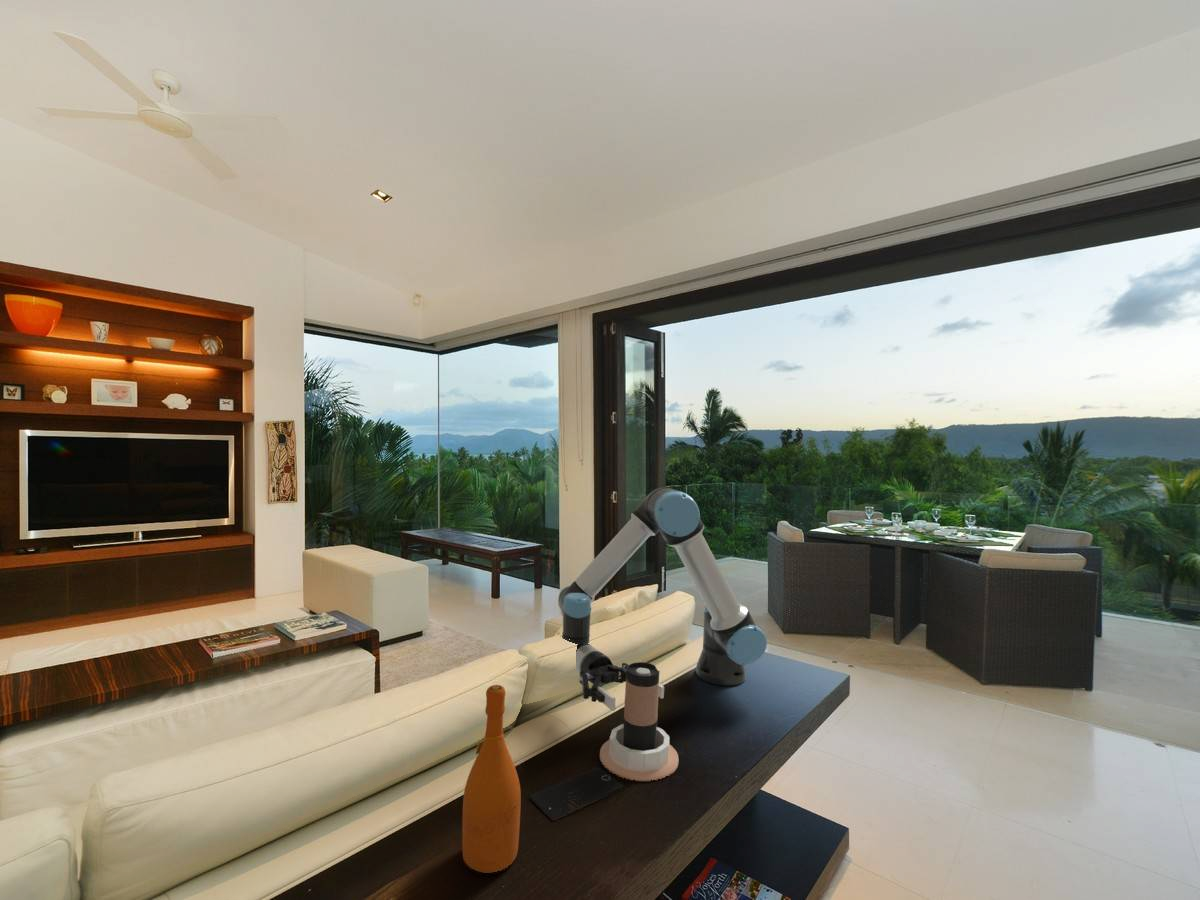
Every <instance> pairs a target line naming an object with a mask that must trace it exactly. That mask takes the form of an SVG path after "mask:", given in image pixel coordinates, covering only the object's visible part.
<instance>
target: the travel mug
mask: <svg viewBox="0 0 1200 900" xmlns="http://www.w3.org/2000/svg"><path fill="white" fill-rule="evenodd" d="M660 672H661V671H660V670H658V668H657V667H656V665H654V664H652V663H649V662H645V661H644V662H642V661H641V662H638V661H637V662H633V663H629V664H628V667H627V672H626V682H625V692H624V707H623V708H624V709H623V724H624V740H623V746H625V747H627V748H629V749H633V750H640V751H647V750H653V749H655V741H656V729H657V727H658V711H659V697H658V692H659V684H660Z"/></svg>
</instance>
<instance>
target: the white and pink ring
mask: <svg viewBox="0 0 1200 900" xmlns="http://www.w3.org/2000/svg"><path fill="white" fill-rule="evenodd" d="M623 740H624V723H621V724H620V725H618V726H616V727H614V728H613V729H611V733H610V736H609V739H608V740H607V741H605V742H604V743H603V744H602V745H601V747H600V750H599V760H600V762H602V763H601V765H602V766H603V765H604V766H603V767H604V768H605V769H606V768H607V769H608V770H609V771H608V770H607V769H606V770H607V771H608V772H609V773H611V772H612V773H611V774H613V775H614V774H616V775H615V776H617V775H618V776H617V777H618V778H619V777H620V778H621V777H622V778H621V779H624V778H626V779H625V780H628V779H629V781H633V780H635V781H636V782H654V781H653V780H655V781H658V779H660V780H663V779H665V777H666V776H668V777H670V776H671V775H673V773H675V771H676V770H677V769H678V767H679V762H680V761H679V754H678V752H677V750H676V749H675V748H674V746H672V745H671V744H670V735H669V734H667V732H666V731H665V730H664V729H662V728H661V727H658V726H657V729H656V741H655V749H653V750H647V751H640V750H633V749H629V748H627V747H625V746H623ZM670 774H671V775H670ZM662 778H663V779H662ZM666 778H667V777H666ZM651 780H652V781H651Z"/></svg>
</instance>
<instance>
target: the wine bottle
mask: <svg viewBox="0 0 1200 900" xmlns="http://www.w3.org/2000/svg"><path fill="white" fill-rule="evenodd" d="M485 696H486V697H485V698H486V705H485V711H484V713H485V715H486V716H487V719H486V725H485V726H486V727H485V733H484V735H483V738H484V739H481V740H478V743H477V745H476V750H475V755H477V756H476V758H475V760H474V762H473V764H472V766H471V769H470V771H469V774H468V777H467V780H466V782H465V786H464V791H463V799H462V800H463V801H462V822H461V823H462V824H461V825H462V830H461V832H462V836H461V838H462V839H461V840H462V841H461V843H462V845H461V846H462V847H461V849H462V851H461V852H462V859H463V862H464V861H465V862H464V864H465V863H466V864H467V865H468V866H469V867H470V868H472V869H474V870H476V871H479V872H483V873H491V872H492V873H493V872H497V871H500V872H502V871H504V870H506V869H508V868H509V867H510V866H511V865H512V863H514V861H515V859H516V857H517V855H518V850H519V840H520V826H521V801H522V800H521V799H522V798H521V797H522V796H521V794H522V793H521V792H522V791H521V783H520V779H519V775H518V772H517V769H516V766H515V762H514V761H513V759H512V757H511V754H510V752H509V749H508V747H507V743H506V740H505V733H504V730H503V729H504V713H505V711H506V706H505V700H506V689H505V687H504V686H503V685H500V684H492V685H491V686H489V687H487V689H486V692H485ZM466 864H465V865H466ZM467 865H466V866H467ZM509 865H510V866H509ZM468 866H467V867H468ZM508 866H509V867H508ZM470 868H469V869H470ZM505 868H506V869H505ZM503 869H504V870H503ZM501 870H502V871H501ZM497 873H498V872H497ZM493 874H494V873H493Z"/></svg>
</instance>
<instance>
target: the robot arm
mask: <svg viewBox="0 0 1200 900" xmlns="http://www.w3.org/2000/svg"><path fill="white" fill-rule="evenodd" d="M630 515H631V517H630V519H629V521H628V522H627V523H626V524H625V525H624V526H623V527H622V528H621V529H620V530H619V532H618V533H617V534H616V535H615V536H614V537H613V538H612V539H611V540H610V542H609V543H608V544H607V545H606V546H605V547H604V548H603V549H602V550H601V551H600V552H599V553H598V554H597V556H595V558H594V559H593V560H592V561H591V562H590V564H588V565H587V566H586V568H585V569H584V570H583V571H582V572H581V573H580V575H579V576H578V577H576V579H575V580H574V581H573V582H572V583H571V584H570V585H568V586H565V587H563V588H562V589H561V590H560V592H559V594H558V601H557V603H558V606H559V609H560V613H561V616H562V634H561V636H562V638H563V639H565V640H567V641H569V642H572V643H575V644H578V645H577V650H576V670H577V671H576V670H575V671H576V672H577V673H579V683H580V684H581V687H582V688H581V689H582V697H583V699H585V700H587V699H589V698H590V697H591V702H593V703H594V702H595V703H596V702H597V701H598V703H602V704H603V705H605V706H606V708H608V709H609V710H610V711H613V712H614V711H615V710H616V697H615V696H613V695H612V694H610V692H608V691H607V690H605V689H604V688H603V684H610V683H619V684H623V683H626V672H627V667H628V665H629V664H628V663H626V662H622V663H621V666H617V665H614V664H613V662H612V660H611V659H610V658H609V656H608V655H606V654H604V653H603V652H602V651H600V650H599V649H597V648H595V647H594V646H592V645H591V644H590V637H591V635H590V630H591V629H590V628H591V613H592V606H591V605H592V601H593V599H594V598H595V597H596V596H597V594H598V593H599V592H600V591H602V589H603V588H604V587H605V586H606V584H608V582H610V580H611V579H612V578H613V577H614V576H615V575H616V574H617V572H618V571H619V570H620V569H621V568H622V567H623V566H624V565H625V564H626V563H627V561H628V560H629V559H630V558H631V557H632V556H633V555H634V554H635V553H636V552H637V550H639V548H641V546H642V545H644V543H645V542H646V541H647V540H648V538H650V537H651V536H652V537H653V536H654V537H655V536H657V534H658V533H659V532H660V534H661V536H662V538H663V540H664V542H665V543H666V545H667V546H668V547H672V548H674V549H675V550H676V553H677V554H678V557H679V558H680V560H681V563H682V564H683V566H684V568H685V569H686V572H687V574H688V575H689V577H690V579H691V581H692V582H693V585H694V586H695V589H696V590H697V592H698V594H699V595H700V598H701V599H702V601H703V603H704V610H703V632H702V633H703V635H702V636H703V638H702V639H703V640H702V649H701V652H700V655H699V658H698V659H697V662H696V666H695V669H696V670H695V674H696V676H697V677H698V678H699V679H700V680H702V681H704V682H707V683H710V684H714V685H719V686H737V685H740V684H742V683H744V682H745V681H746V679H747V673H746V668H745V666H750V665H753V664H755V663H757V662H758V661H760V660H761V658H763V656H764V654H765V653H766V649H767V648H768V647H767V646H768V641H767V636H766V634H765V632H764V630H763V629H761V628H760V627H759V626H757V624H756V622H755V621H754V618H753V616H752V615H751V613H750V612H749V610H748V608H747V606H746V605H743V603H740V602H739V601H738V599H737V598H736V596H735V594H734V593H733V591H732V588H731V586H730V584H729V582H728V581H727V579H726V577H725V576H724V573H723V571H722V569H721V567H720V566H719V563H718V562H717V560H716V558H715V556H714V554H713V552H712V551H711V549H710V546H709V544H708V542H707V541H706V539H705V537H704V535H703V531H704V529H705V525H704V523H703V522H702V519H701V513H700V509H699V506H698V504H697V502H696V501H695V500H694V499H693V497H692V496H690V495H689V494H687V493H685V492H684V491H680V490H676V489H674V488H671V487H659V488H656V489H654V490H652V491H651V492H650V493H649V494H647V495H646V496H645V497H644V499H643V500H642V501H641V502H640V503H639V504H638V506H636V507H635V509H634V510H633V511H632V512H631V514H630ZM569 639H570V640H569ZM588 643H589V644H588ZM619 676H620V678H619ZM589 683H591V684H592V686H591V688H590V686H589ZM664 696H665V686H664V685H663V684H661V683H659V692H658V699H661V700H662V699H664V698H665V697H664Z"/></svg>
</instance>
